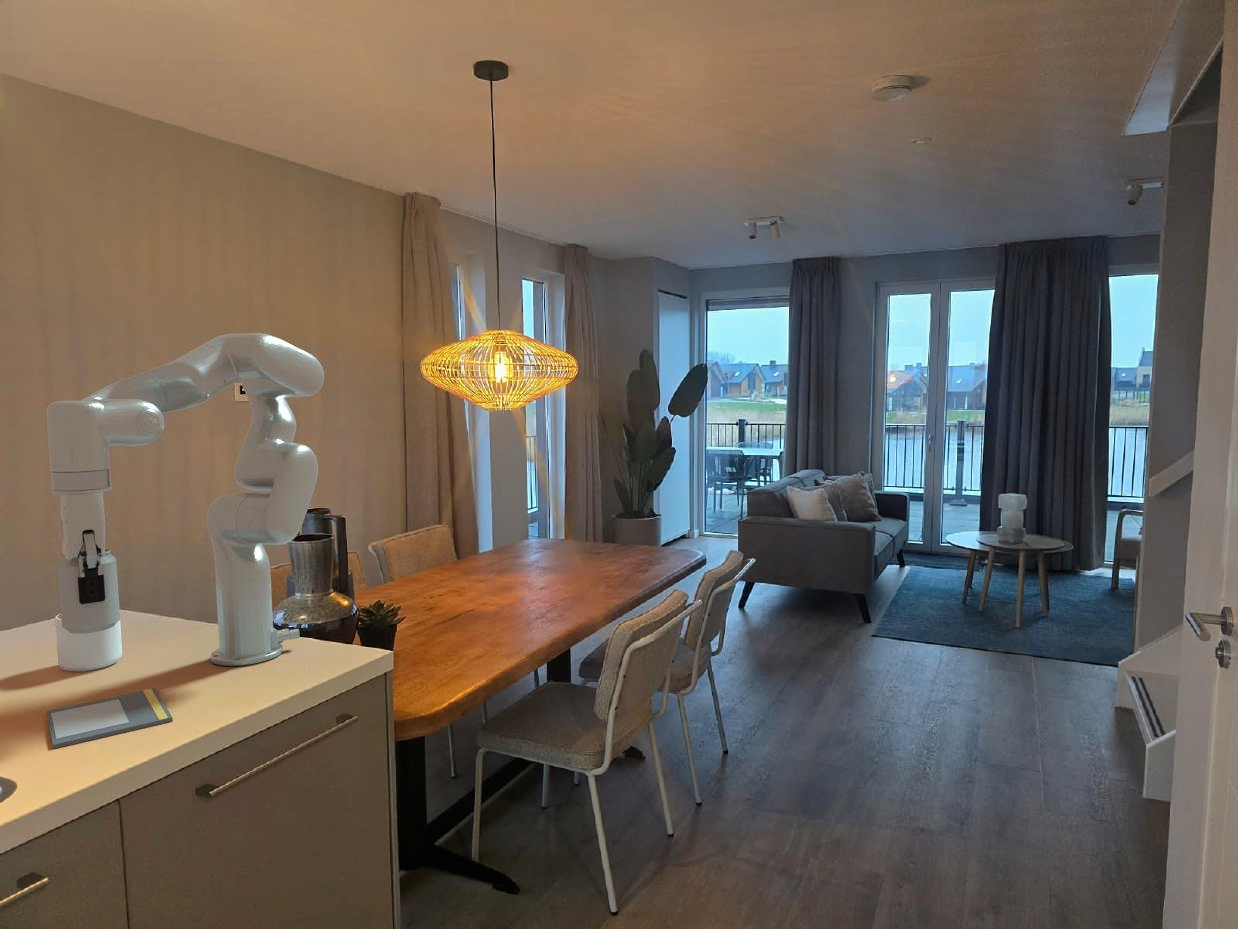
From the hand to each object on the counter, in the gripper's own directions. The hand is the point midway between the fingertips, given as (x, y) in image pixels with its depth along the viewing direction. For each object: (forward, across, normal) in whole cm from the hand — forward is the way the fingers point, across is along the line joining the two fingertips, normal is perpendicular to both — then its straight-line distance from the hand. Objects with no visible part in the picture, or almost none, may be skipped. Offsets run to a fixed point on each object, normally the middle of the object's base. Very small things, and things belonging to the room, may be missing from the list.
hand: (89, 596), depth 121 cm
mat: (+20, 0, +1) cm, 20 cm away
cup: (+20, -32, +2) cm, 38 cm away
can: (+5, 0, 0) cm, 5 cm away
